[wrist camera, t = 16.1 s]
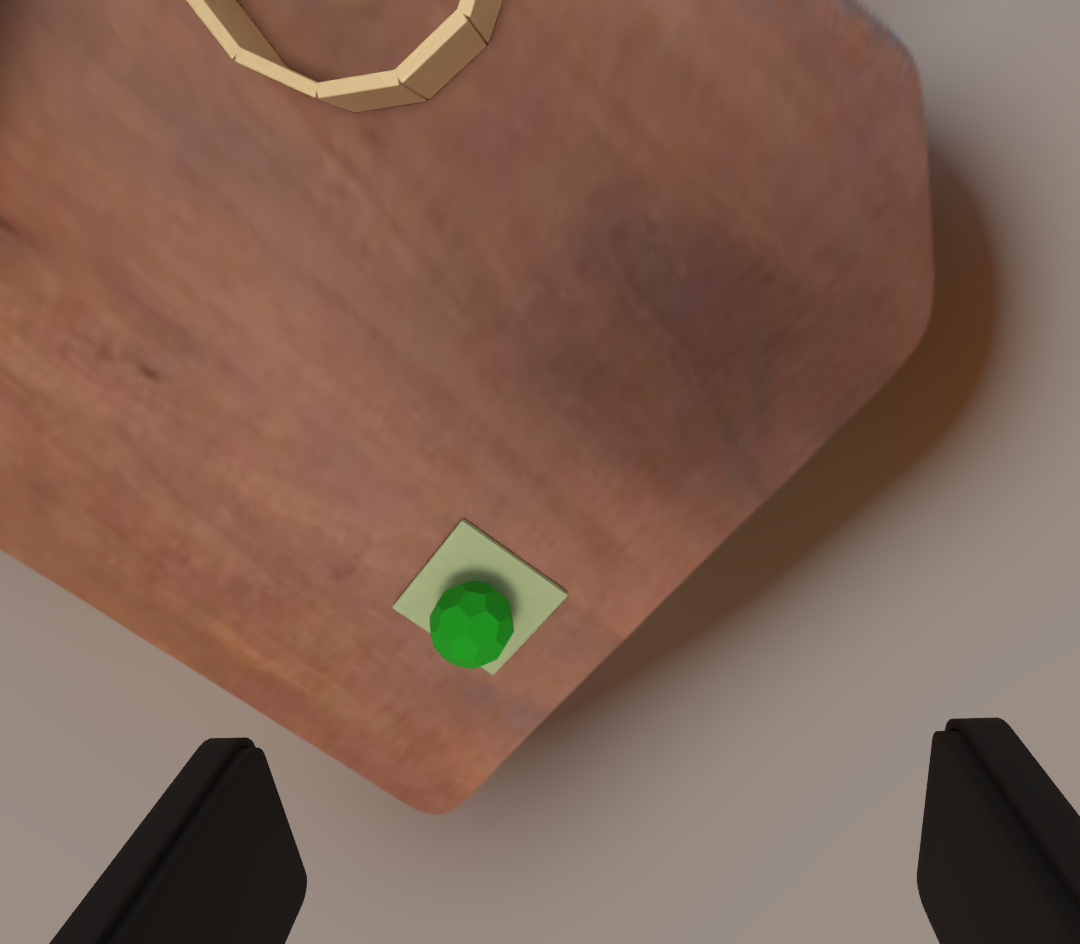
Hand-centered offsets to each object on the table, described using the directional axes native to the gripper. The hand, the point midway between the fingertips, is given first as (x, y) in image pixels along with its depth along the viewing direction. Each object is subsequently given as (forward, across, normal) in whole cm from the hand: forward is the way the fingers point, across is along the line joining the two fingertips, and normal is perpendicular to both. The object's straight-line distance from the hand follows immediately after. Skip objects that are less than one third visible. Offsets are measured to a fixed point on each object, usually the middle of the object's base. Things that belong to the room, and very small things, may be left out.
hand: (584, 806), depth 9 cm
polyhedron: (+28, +9, +14) cm, 33 cm away
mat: (+28, +9, +14) cm, 33 cm away
